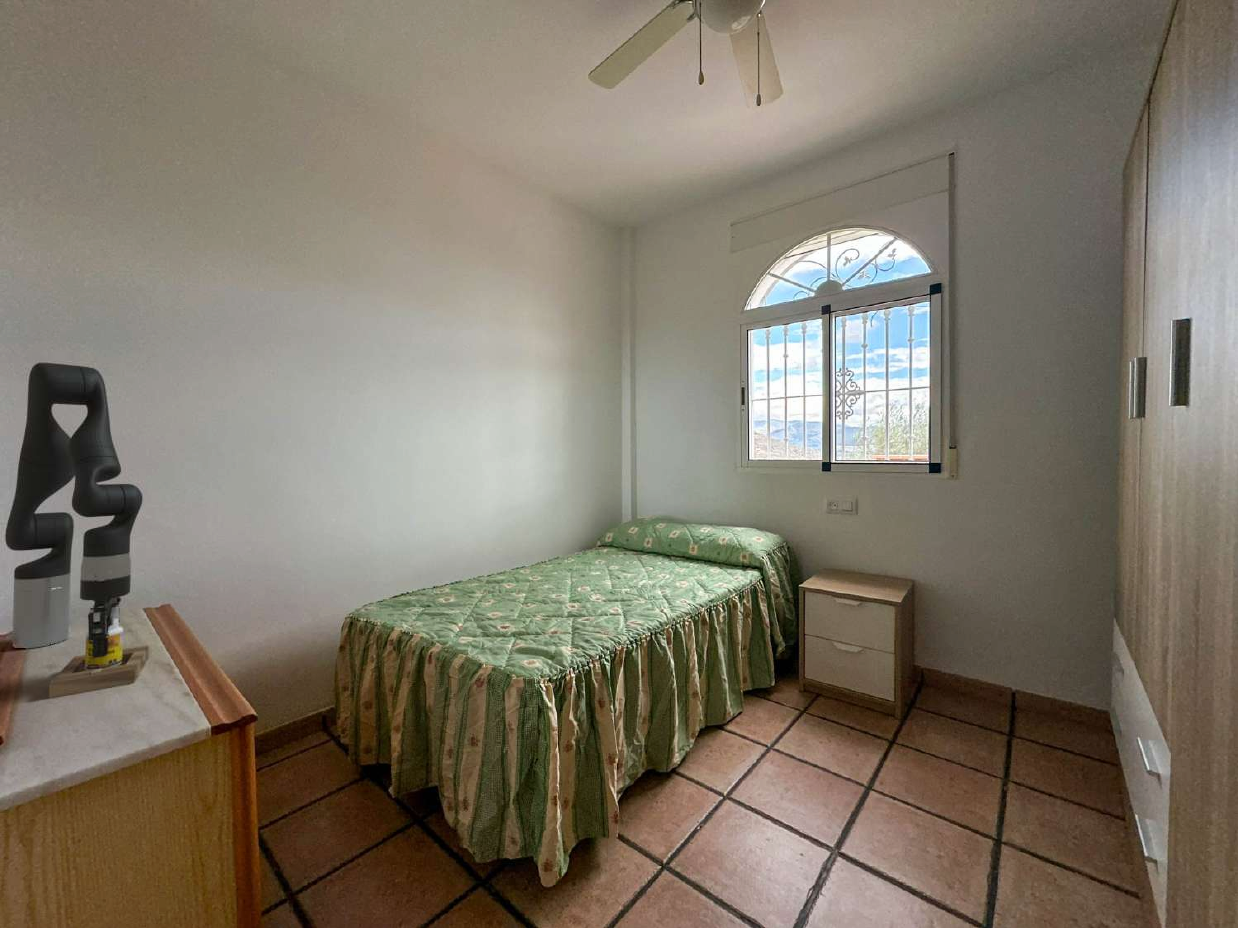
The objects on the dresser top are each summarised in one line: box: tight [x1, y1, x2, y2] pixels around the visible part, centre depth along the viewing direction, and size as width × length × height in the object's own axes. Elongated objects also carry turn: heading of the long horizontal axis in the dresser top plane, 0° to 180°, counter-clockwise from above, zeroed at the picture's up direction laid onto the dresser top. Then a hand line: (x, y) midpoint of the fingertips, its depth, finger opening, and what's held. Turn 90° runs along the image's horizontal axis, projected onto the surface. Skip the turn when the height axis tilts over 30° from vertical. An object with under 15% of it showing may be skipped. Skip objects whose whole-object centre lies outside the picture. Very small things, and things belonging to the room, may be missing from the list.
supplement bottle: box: [84, 618, 124, 671], centre depth 104 cm, size 6×6×10 cm
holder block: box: [48, 644, 150, 699], centre depth 104 cm, size 16×12×3 cm
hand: (104, 651), depth 104 cm, fingers closed on supplement bottle, 5 cm apart
